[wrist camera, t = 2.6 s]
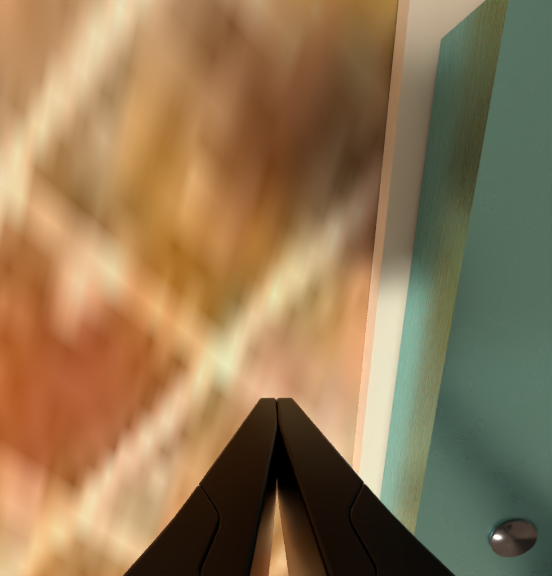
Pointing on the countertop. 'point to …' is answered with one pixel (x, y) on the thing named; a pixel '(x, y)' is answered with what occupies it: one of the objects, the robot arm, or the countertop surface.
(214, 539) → the robot arm
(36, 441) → the countertop surface
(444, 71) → the teal hinge leaf
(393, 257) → the cream base board
